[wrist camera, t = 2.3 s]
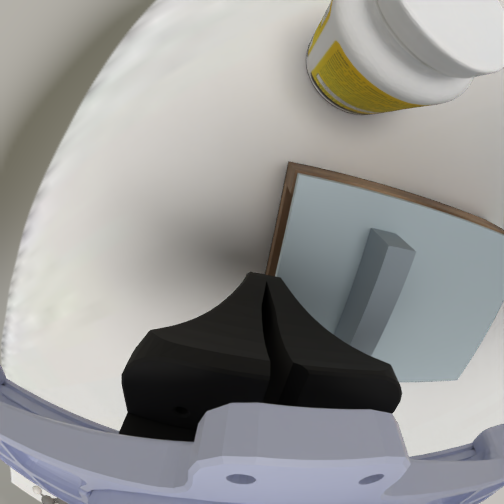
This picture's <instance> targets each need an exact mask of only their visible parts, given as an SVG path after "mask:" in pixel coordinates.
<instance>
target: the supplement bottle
mask: <svg viewBox="0 0 504 504" xmlns="http://www.w3.org/2000/svg"><path fill="white" fill-rule="evenodd" d="M306 63H307V70H308V74H309V77H310V79H311V81H312V83H313V85H314V86H315V88H316V89H317V91H318V92H319V93H320V94H321V95H322V97H324V98H325V99H326V100H327V101H328V102H329V103H331V104H332V105H334V106H335V107H337V108H339V109H341V110H344V111H346V112H349V113H354V114H361V115H368V114H377V113H384V112H389V111H395V110H401V109H407V108H414V107H421V106H429V105H437V104H441V103H445V102H448V101H451V100H453V99H455V98H457V97H458V96H460V95H461V94H462V93H464V92H465V91H466V89H467V88H468V87H469V85H470V84H471V82H472V80H473V78H474V77H477V76H480V75H486V74H490V73H495V72H497V71H499V70H501V69H502V68H504V9H503V7H502V5H501V4H500V2H499V0H332V1H331V3H330V4H329V7H328V8H327V10H326V12H325V14H324V16H323V18H322V20H321V22H320V24H319V26H318V28H317V30H316V32H315V33H314V36H313V38H312V40H311V42H310V44H309V47H308V51H307V58H306Z"/></svg>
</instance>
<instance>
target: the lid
mask: <svg viewBox="0 0 504 504" xmlns="http://www.w3.org/2000/svg"><path fill="white" fill-rule="evenodd" d="M275 276H276V277H281V279H282V280H283V281H284V283H285V284H286V286H287V287H288V288H289V290H290V291H291V292H292V294H293V295H294V296H295V298H296V299H297V300H298V301H299V303H300V304H301V305H302V306H303V307H304V308H305V309H306V311H307V312H308V313H309V314H310V315H311V316H312V317H313V318H314V319H315V320H316V321H318V322H319V323H320V324H321V325H322V326H323V327H324V328H326V329H327V330H328V331H329V332H331V333H332V334H334V335H335V336H336V337H338V338H339V339H341V340H342V341H344V342H345V343H347V344H349V345H350V346H352V347H354V348H356V349H358V350H359V351H361V352H363V353H365V354H367V355H369V356H372V357H374V358H377V359H379V360H381V361H384V362H386V363H389V364H391V366H392V368H393V370H394V372H395V375H396V377H397V379H398V382H433V381H451V380H457V379H458V378H459V377H460V375H461V374H462V372H463V371H464V369H465V368H466V366H467V365H468V363H469V362H470V360H471V358H472V357H473V355H474V354H475V352H476V350H477V349H478V347H479V345H480V344H481V342H482V340H483V339H484V337H485V335H486V333H487V332H488V330H489V328H490V326H491V324H492V322H493V320H494V319H495V317H496V315H497V313H498V311H499V309H500V307H501V305H502V303H503V301H504V234H501V233H499V232H496V231H494V230H491V229H489V228H486V227H484V226H481V225H478V224H476V223H473V222H470V221H468V220H465V219H462V218H459V217H456V216H454V215H451V214H448V213H445V212H442V211H439V210H436V209H433V208H430V207H427V206H423V205H420V204H417V203H414V202H411V201H407V200H404V199H401V198H397V197H394V196H390V195H387V194H383V193H380V192H376V191H372V190H368V189H365V188H361V187H357V186H353V185H349V184H345V183H341V182H337V181H333V180H328V179H324V178H320V177H315V176H311V175H306V174H301V173H298V174H297V178H296V183H295V188H294V193H293V197H292V202H291V207H290V211H289V216H288V220H287V225H286V230H285V234H284V239H283V243H282V247H281V252H280V256H279V261H278V265H277V269H276V274H275Z"/></svg>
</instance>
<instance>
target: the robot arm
mask: <svg viewBox="0 0 504 504" xmlns="http://www.w3.org/2000/svg"><path fill="white" fill-rule="evenodd" d="M122 388H123V393H124V397H125V402H126V407H127V411H128V413H127V415H126V418H125V420H124V422H123V425H122V427H121V429H120V431H117V430H114V429H111V428H109V427H106V426H103V425H101V424H98V423H95V422H93V421H90V420H88V419H85V418H83V417H81V416H78V415H76V414H74V413H71V412H69V411H67V410H65V409H63V408H60V407H58V406H56V405H54V404H52V403H50V402H48V401H46V400H44V399H42V398H40V397H38V396H36V395H34V394H33V393H31V392H29V391H27V390H25V389H24V388H22V387H20V386H18V385H17V384H15V383H13V382H12V381H10V380H8V379H7V378H6V376H5V373H4V371H3V369H2V367H1V365H0V459H1V460H2V461H3V462H5V463H6V464H7V465H9V466H10V467H11V468H13V469H14V470H15V471H17V472H18V473H20V474H21V475H23V476H24V477H26V478H27V479H28V480H30V481H31V482H33V483H34V484H36V485H38V486H39V487H41V488H42V489H44V490H46V491H47V492H49V493H51V494H52V495H54V496H56V497H57V498H59V499H61V500H63V501H65V502H66V503H68V504H479V503H481V502H483V501H484V500H485V499H487V498H488V497H489V496H491V495H493V494H494V493H495V492H497V491H498V490H499V489H500V488H502V487H503V486H504V424H500V425H497V426H494V427H490V428H488V429H486V430H484V431H483V432H482V433H480V434H479V435H478V436H477V437H476V438H475V440H474V441H473V442H472V443H470V444H466V445H463V446H459V447H455V448H451V449H447V450H443V451H438V452H434V453H429V454H423V455H418V456H412V457H409V456H408V453H407V449H406V446H405V443H404V440H403V437H402V434H401V431H400V428H399V425H398V422H397V421H396V419H395V418H394V416H393V414H392V413H393V412H394V411H395V409H396V408H397V406H398V404H399V402H400V400H401V395H402V391H401V387H400V384H399V382H398V379H397V377H396V375H395V372H394V370H393V368H392V366H391V364H389V363H386V362H384V361H381V360H379V359H377V358H374V357H372V356H369V355H367V354H365V353H363V352H361V351H359V350H358V349H356V348H354V347H352V346H350V345H349V344H347V343H345V342H344V341H342V340H341V339H339V338H338V337H336V336H335V335H334V334H332V333H331V332H329V331H328V330H327V329H326V328H324V327H323V326H322V325H321V324H320V323H319V322H318V321H316V320H315V319H314V318H313V317H312V316H311V315H310V314H309V313H308V312H307V311H306V309H305V308H304V307H303V306H302V305H301V304H300V303H299V301H298V300H297V299H296V298H295V296H294V295H293V294H292V292H291V291H290V290H289V288H288V287H287V286H286V284H285V283H284V281H283V280H282V279H281V277H276V276H270V275H265V274H259V273H253V272H249V273H248V274H247V275H246V277H245V279H244V280H243V282H242V283H241V284H240V286H239V287H238V288H237V289H236V290H235V291H234V292H233V293H232V294H231V295H230V296H229V297H228V298H227V299H225V300H224V301H223V302H222V303H221V304H219V305H218V306H216V307H215V308H213V309H212V310H210V311H209V312H207V313H205V314H203V315H201V316H199V317H197V318H195V319H192V320H190V321H187V322H184V323H181V324H178V325H174V326H169V327H164V328H159V329H154V330H150V331H149V332H148V333H147V335H146V336H145V337H144V338H143V340H142V341H141V342H140V343H139V345H138V346H137V347H136V349H135V350H134V352H133V353H132V355H131V357H130V359H129V361H128V363H127V365H126V367H125V369H124V371H123V373H122Z"/></svg>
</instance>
